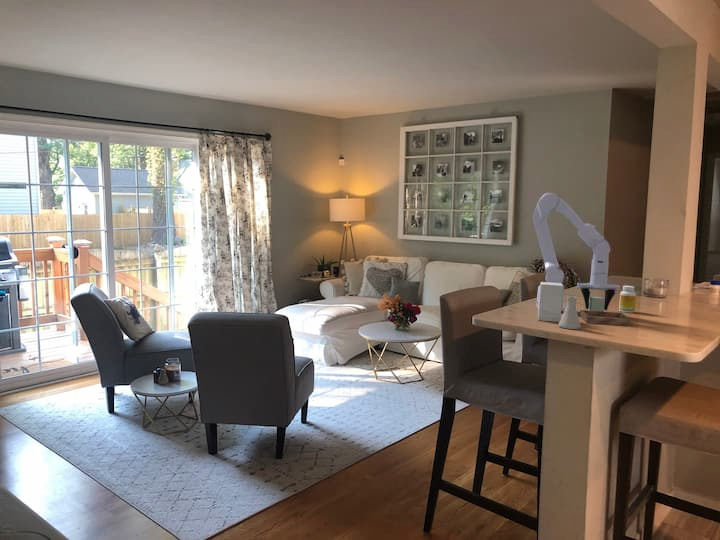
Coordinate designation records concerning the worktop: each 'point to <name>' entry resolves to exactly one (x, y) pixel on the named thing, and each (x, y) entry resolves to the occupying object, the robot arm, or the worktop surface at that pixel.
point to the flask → (570, 315)
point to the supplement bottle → (627, 299)
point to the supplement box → (550, 301)
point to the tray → (605, 317)
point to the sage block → (596, 304)
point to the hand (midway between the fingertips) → (596, 309)
